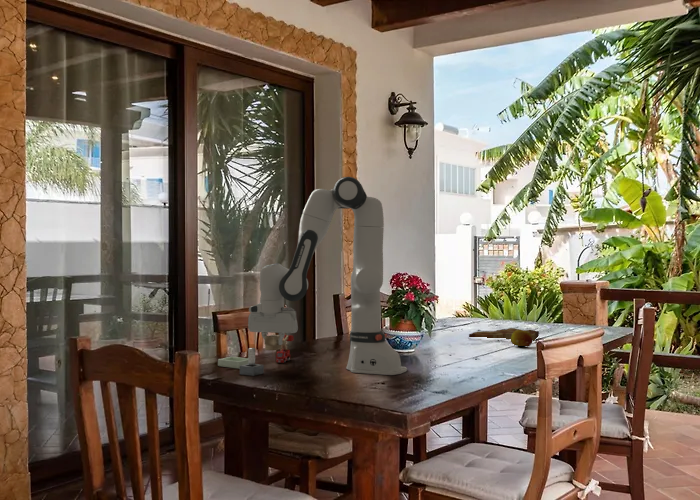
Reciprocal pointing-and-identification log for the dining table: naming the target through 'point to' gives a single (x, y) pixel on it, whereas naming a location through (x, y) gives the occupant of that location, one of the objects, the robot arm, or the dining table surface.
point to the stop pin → (251, 356)
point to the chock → (272, 342)
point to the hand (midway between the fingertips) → (273, 344)
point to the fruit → (521, 338)
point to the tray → (232, 362)
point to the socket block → (251, 369)
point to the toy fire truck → (281, 355)
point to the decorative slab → (502, 333)
